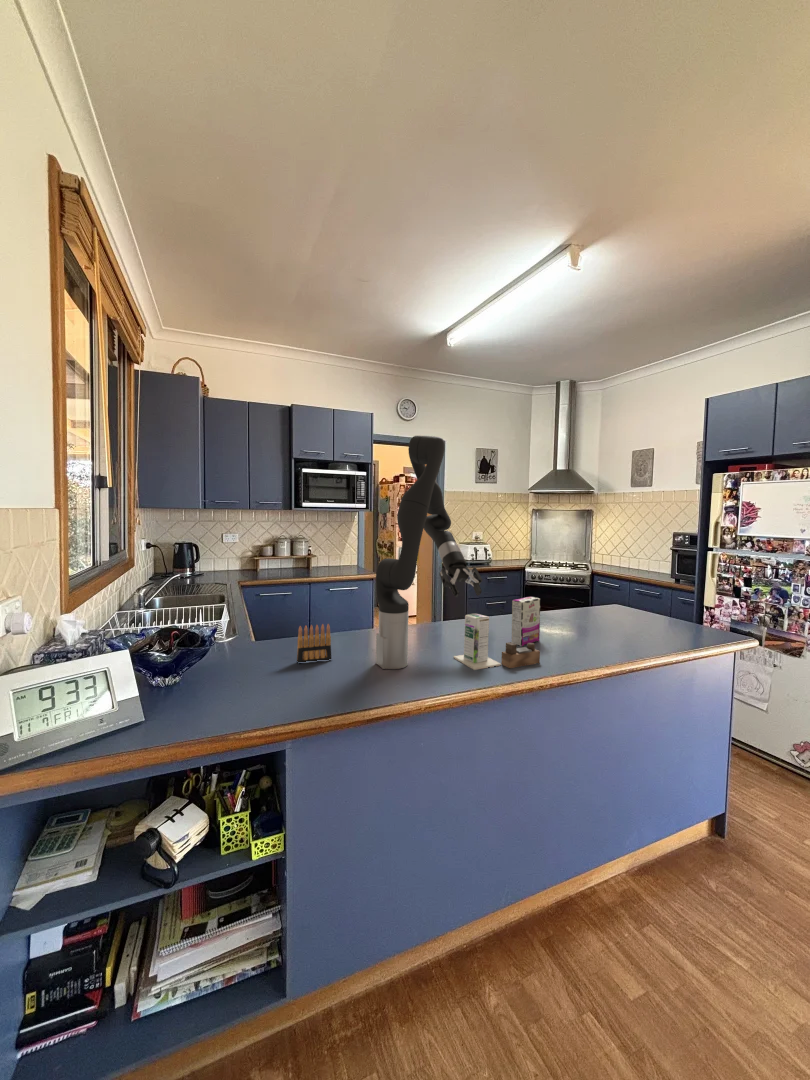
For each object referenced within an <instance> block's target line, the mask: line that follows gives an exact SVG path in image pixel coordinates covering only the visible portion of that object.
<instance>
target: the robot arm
mask: <svg viewBox="0 0 810 1080" xmlns="http://www.w3.org/2000/svg"><path fill="white" fill-rule="evenodd" d="M407 448H408V457H409V461H410V464H411V466H412V468H413V471H414V474H415V477H416V481H415V482H414V483H413V484H412V485H410V487H408V489H407V490H406V491H405V492H404V494H403V495H402V497H401V499H400V502H399V507H398V510H397V514H396V515H397V516H396V521H397V525H398V529H399V533H400V537H401V549H400V553H399V556H398V557H399V558H383V559H381V560H380V561H379V563H378V564H377V567H376V572H375V586H376V587H375V590H376V592H375V593H376V594H375V595H376V601H377V604H378V632H377V633H376V635H375V639H376V640H375V664H376V665H378V666H379V667H380V668H381V669H382V670H398V669H403V668H406V667H407V666H408V664H409V663H408V662H409V661H408V660H409V657H408V656H409V655H408V654H409V652H408V651H409V608H410V607H409V605H410V604H409V601H408V600H407V599H405V598H404V597H403V596H402V595H401V594H400V593H399V591H407V590H409V588H410V587H411V586H412V585H413V583H414V579H415V577H416V572H417V564H418V557H419V550H420V545H421V541H422V537H423V532H424V531H425V533H426V534H427V535H428V536H429V538H431V540H432V541H433V542H434V544H435V545H436V549H437V551H438V554H439V558H440V560H441V562H442V565H443V566H444V568H442V569H441V571H440V572H439V577H440V580H441V582H442V583H441V584H442V585H443V587H444V588H449V589H450V591H451V593H452V595H453V596H454V598H458V597H459V596H460V591H459V589H458V587H457V584H456V583H459V582H461V583H464V582H465V583H466V584H468V585H471V586H472V588H473V590H474V593H475V594H476V596H477V597H478V596H480V595H481V593H482V591H483V590H482V588H481V586H480V585H481V583H482V582H483V578H482V576H481V574H480V573H479V571H478V569H477V568H476V567H472V568H471V569H470V568H468V566H467V565H468V564H467V562H466V559H465V557H464V555H463V553H462V551H461V548H460V546H459V545H458V544H457V541H456V540H455V537H454V535H453V533H452V531H450V530H449V529H450V528H451V526H452V520H451V517H450V515H449V514H448V512H447V510H446V508H445V504H444V503H445V502H444V497H443V492H442V488H441V486H440V485H439V483H438V482H437V477H438V475H439V473H440V468H441V465H442V463H443V459H444V455H445V450H446V449H445V448H446V445H445V440H444V439H443V438H442V437H441V436H435V435H434V436H433V435H413V436H412V437H411V439H410V440H409V443H408V447H407ZM449 577H450V578H451V579H450V580H449Z"/></svg>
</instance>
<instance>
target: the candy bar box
mask: <svg viewBox="0 0 810 1080" xmlns="http://www.w3.org/2000/svg"><path fill="white" fill-rule="evenodd" d="M511 604H512V605H511V642H512V643H514V644H517V646H519V645H520V646H519V647H523V646H524V645H525V646H527V643H534V642H535V643H537V641H538V642H540V630H541V629H540V627H541V626H540V625H541V624H540V623H541V598H539V597H536V596H526V597H521V598H518V599H513V600H512V601H511ZM535 643H534V644H535ZM525 646H524V647H525Z"/></svg>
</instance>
